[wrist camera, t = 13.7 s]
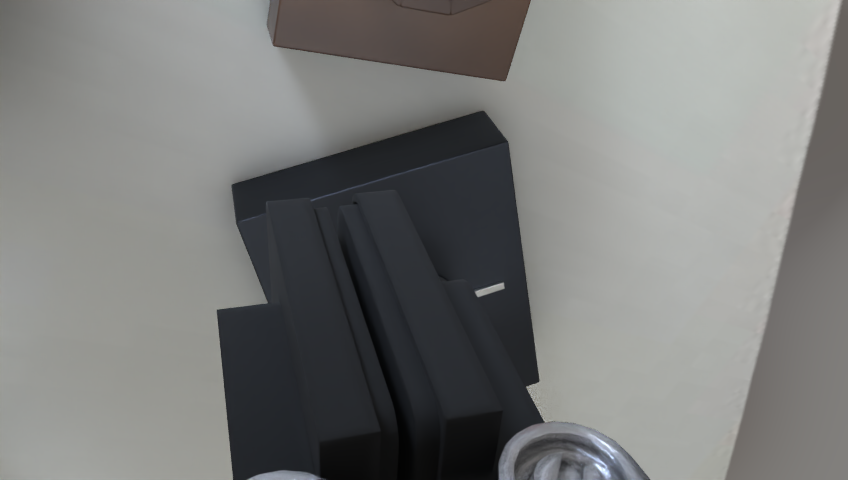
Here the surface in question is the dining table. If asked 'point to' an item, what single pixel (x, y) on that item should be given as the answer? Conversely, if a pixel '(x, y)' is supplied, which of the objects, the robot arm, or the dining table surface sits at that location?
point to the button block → (405, 32)
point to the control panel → (424, 213)
